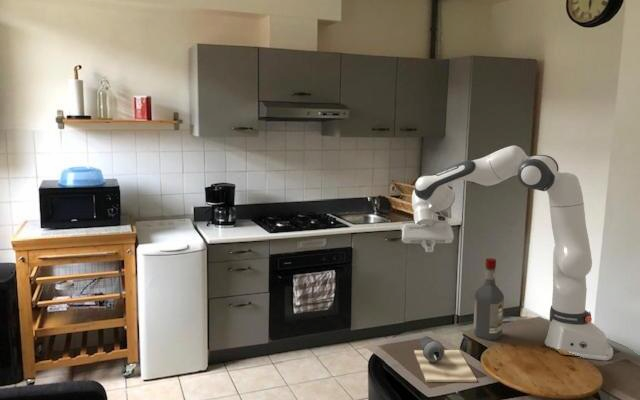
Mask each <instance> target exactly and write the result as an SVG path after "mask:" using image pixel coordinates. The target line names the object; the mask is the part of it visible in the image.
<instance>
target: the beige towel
mask: <svg viewBox="0 0 640 400" xmlns="http://www.w3.org/2000/svg"><path fill="white" fill-rule="evenodd" d="M413 352H414V354H415V357H416V361H417V362H418V365H419V368H420V370H421V372H422V375H423V377H424V380H425V382H426V383H455V382H456V383H477V380H478V379H477V378H476V376H475V374H474V372H473V371H472V369H471V368H470V366H469V363H468V362H467V361H466V359H465V357H464V355H463V354H462V352H461V350H460V349H444V356H443V358H442V359H441V360H440V361H438V362H431V361H428V360H427V359H426V358H425V357H424V354H423V350H422V349H414V350H413Z"/></svg>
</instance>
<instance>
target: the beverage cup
mask: <svg viewBox="0 0 640 400" xmlns="http://www.w3.org/2000/svg"><path fill="white" fill-rule="evenodd" d="M419 345H420V347H421V350H423V354H424V357H425V358H426V359H427V360H428V361H431V362H438V361H440V360H441V359H442V358H443V356H444V350H445V347H444V346H443V344H442V343H441V342H440V341H438V340H435V339H433V338H432V337H431V336H428V335H425V336H423V337H421V338H420V341H419Z"/></svg>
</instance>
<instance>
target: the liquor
mask: <svg viewBox="0 0 640 400" xmlns="http://www.w3.org/2000/svg"><path fill="white" fill-rule="evenodd" d="M496 269H497V259H495V258H486V259H485V278H484V279H485V280H484V282H483V283H484V284H482V285H481V286H480V288H478V289H477V290H476V291H475V294H474V310H473V311H474V312H473V334H474V335H475V337H477V338H480V339H484V340H486V341H497V340H498V339H499V338H500V337H502V334H503V322H504V321H503V320H504V302H505V301H504V300H505V297H504V295H505V294H504V293H503V292H502V290H501V289H500V288H499V287H498V286H497V285H496Z"/></svg>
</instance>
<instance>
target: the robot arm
mask: <svg viewBox="0 0 640 400" xmlns="http://www.w3.org/2000/svg"><path fill="white" fill-rule="evenodd" d="M559 169H560V168H559V164H558V162H557V161H556V159H555V158H554V157H552V156H550V155H547V154H546V155H545V154H528V155H527V153H526V152H525V150H524V149H522V148H521V147H520V146H517V145H510V146H505V147H504V148H501V149H499V150H496V151H494V152H492V153H490V154H488V155H486V156H484V157H480V158H477V159H473V160H465V161H461V162H459V163H456V164H454V165H451V166H448V167H446V168H443V169H441V170H438V171H435V172H432V173H425V174H423V175H421V176H420V177H418V178H417V180H416V181H415V183H414V187H413V188H414V189H413V191H412V194H411V207H412V210H413V221H403V222H402V223H400V224H399V228H400V230H401V242H403V244H421V246H422V248H423V249H424V251H425V253H433V252H434V247H435V244H452V242H453V240H455V239H454V238H455V236H454V231H453V227H452V225H451V224H450V223H449V217H448V216H444V215H441V214H438V213H440V212H442V211H445V210H448V209H449V208H451V207H452V206H453V204H454V203H455V198H456V194H455V191H454V190H453V189H452V188H451V187H449V186H448V185H451V184H452V183H456V182H458V181H468V182H473V183H476V184H478V185H482V186H485V187H488V186H494V185H497V184H500V183H501V182H503V181H506V180H507V179H509V178H511V177H514V176H517V178H518V181H519V183H520V184H521V185H522V186H524V187H525V188H527V189H531V190H535V191H540V192H547V195H548V201H549V212H550V219H551V229H552V234H553V240H554V247H553V253H552V299H551V306H550V309H549V327H548V332H547V335H546V337H545V340H544V344H545V345H546V346H547V347H548V346H550V347H554V348H556V349H561V350H564V351H567V352H569V353H572V354H575V355H577V356H580V357H579V358H581V357H582V358H583V359H589V360H591V359H592V360H599V361H609V360H611V359H612V358H613V356H614V349H613V347H612V346H611V345H610V344H608V343H607V342H608V341H607V336H606V334H605V332H604V331H603V330H601V328H599V327H598V326H597V325H595V324H594V323H593V322H592V320H593V319H592V318H593V317H592V312H591V311H588V310H586V303H587V293H588V292H587V289H588V288H587V278H586V277H587V275H588V274H589V273H590V272H591V271H592V267H593V259H592V251H591V246H590V240H589V235H588V234H589V233H588V230H587V229H588V228H587V223H586V212H585V211H586V210H585V203H584V195H583V190H582V186H581V182H580V180H579V178H578V176H577V175H576V174H574V173H571V172H559ZM427 244H430V246H428V245H427Z"/></svg>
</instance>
